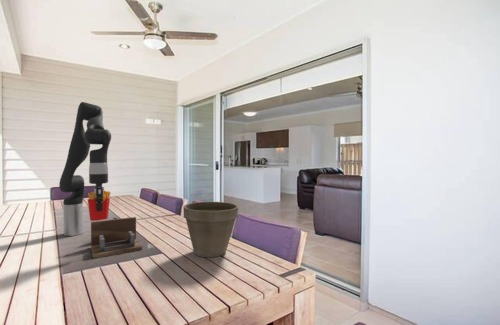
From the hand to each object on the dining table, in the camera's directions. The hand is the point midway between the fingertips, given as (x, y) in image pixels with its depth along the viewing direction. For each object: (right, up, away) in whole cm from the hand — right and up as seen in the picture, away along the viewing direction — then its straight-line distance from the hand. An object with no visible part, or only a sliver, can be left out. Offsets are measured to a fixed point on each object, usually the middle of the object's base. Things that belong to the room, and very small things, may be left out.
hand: (99, 210), depth 124 cm
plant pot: (+51, -20, +2) cm, 55 cm away
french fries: (0, -5, 0) cm, 5 cm away
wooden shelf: (+5, -19, +6) cm, 21 cm away
